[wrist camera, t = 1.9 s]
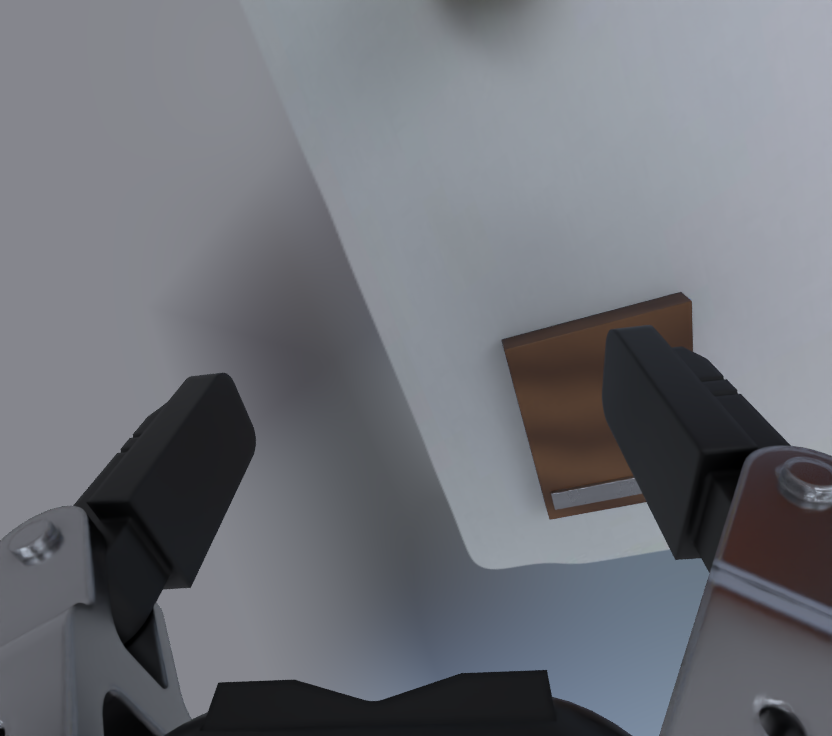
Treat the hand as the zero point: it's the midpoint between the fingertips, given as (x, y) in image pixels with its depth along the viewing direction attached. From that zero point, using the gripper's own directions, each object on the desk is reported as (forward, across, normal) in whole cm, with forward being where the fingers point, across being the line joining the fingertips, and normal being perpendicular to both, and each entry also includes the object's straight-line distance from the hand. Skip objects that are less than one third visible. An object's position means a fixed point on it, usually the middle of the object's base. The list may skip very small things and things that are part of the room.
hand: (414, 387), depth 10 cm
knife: (+19, -12, +25) cm, 34 cm away
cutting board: (+21, -11, +19) cm, 30 cm away
